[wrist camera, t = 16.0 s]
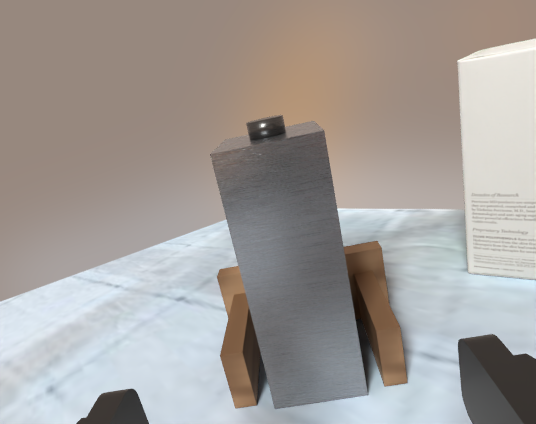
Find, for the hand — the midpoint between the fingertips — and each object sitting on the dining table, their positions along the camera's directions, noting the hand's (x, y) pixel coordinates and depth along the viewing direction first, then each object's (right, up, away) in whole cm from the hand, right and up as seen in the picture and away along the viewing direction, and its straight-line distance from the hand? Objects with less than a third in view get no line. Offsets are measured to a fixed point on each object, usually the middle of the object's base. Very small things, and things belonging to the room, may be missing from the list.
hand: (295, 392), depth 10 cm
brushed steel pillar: (+2, -5, +14) cm, 15 cm away
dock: (+2, -4, +15) cm, 16 cm away
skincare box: (+19, +1, +21) cm, 28 cm away
